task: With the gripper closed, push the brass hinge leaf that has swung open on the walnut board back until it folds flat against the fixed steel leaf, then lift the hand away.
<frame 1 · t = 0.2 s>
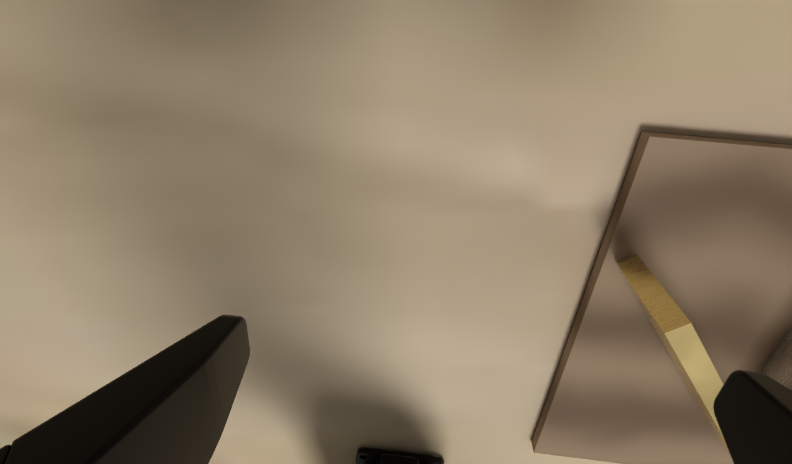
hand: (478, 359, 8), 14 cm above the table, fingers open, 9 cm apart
steel leaf: (740, 413, 25), resting on hinge board
hinge board: (736, 338, 24), on the table
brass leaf: (699, 380, 21), point 4 cm above the table, hinge at 40.0°
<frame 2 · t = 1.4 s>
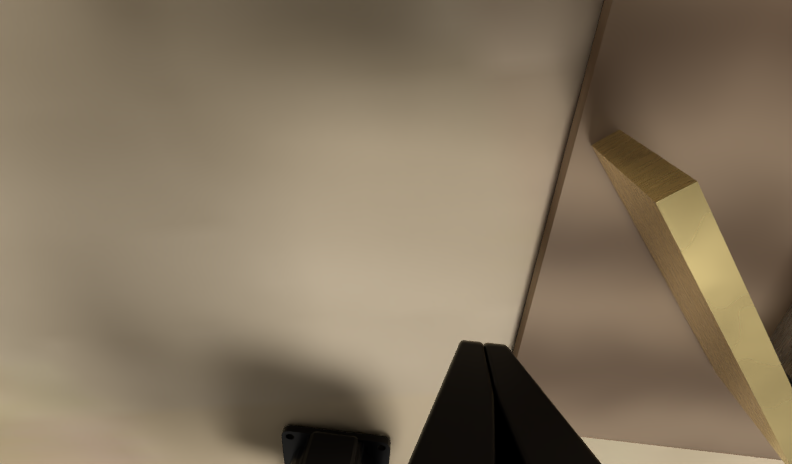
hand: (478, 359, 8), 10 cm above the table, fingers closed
steel leaf: (762, 369, 19), resting on hinge board
hinge board: (756, 264, 18), on the table
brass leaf: (709, 306, 15), point 4 cm above the table, hinge at 40.0°
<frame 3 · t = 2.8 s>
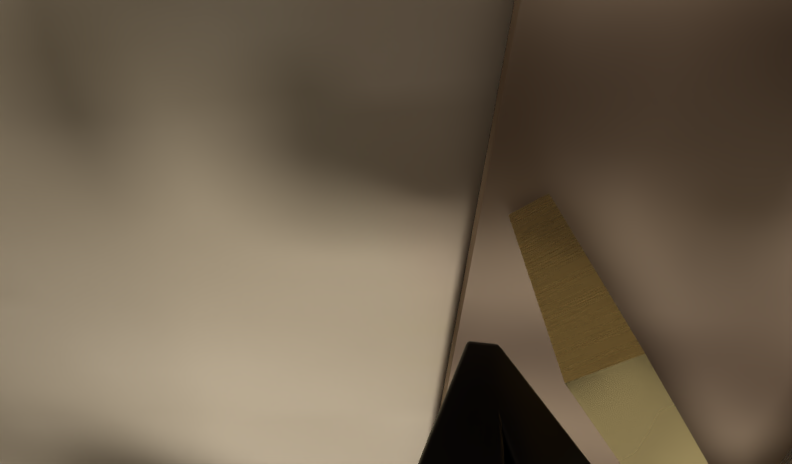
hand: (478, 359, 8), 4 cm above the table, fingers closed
hinge board: (753, 375, 13), on the table
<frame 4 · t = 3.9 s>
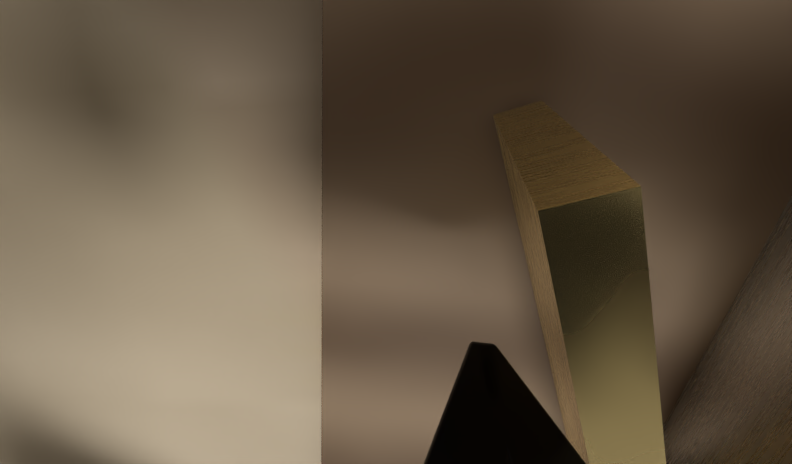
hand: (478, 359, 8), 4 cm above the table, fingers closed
hinge board: (616, 368, 13), on the table
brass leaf: (593, 423, 9), point 4 cm above the table, hinge at 23.2°, touching gripper
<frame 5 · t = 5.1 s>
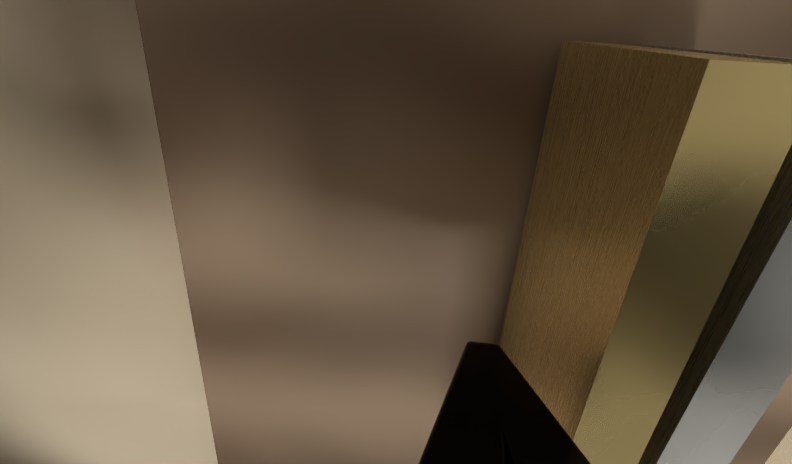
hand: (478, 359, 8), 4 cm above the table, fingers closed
hinge board: (484, 356, 13), on the table
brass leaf: (546, 384, 9), point 4 cm above the table, hinge at 1.4°, touching gripper
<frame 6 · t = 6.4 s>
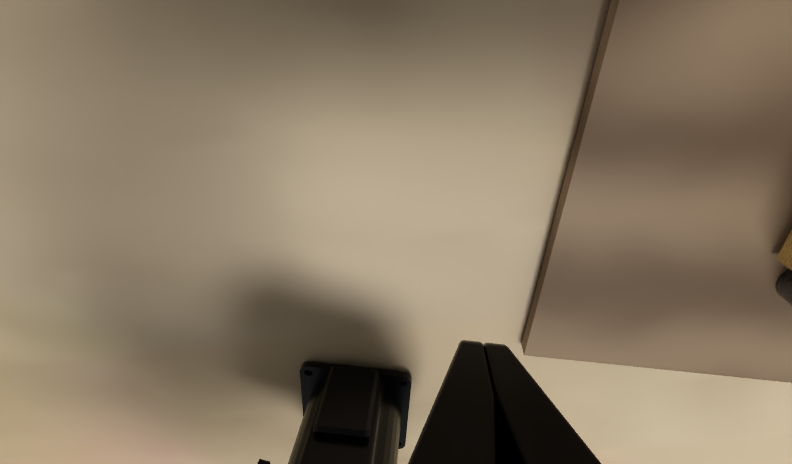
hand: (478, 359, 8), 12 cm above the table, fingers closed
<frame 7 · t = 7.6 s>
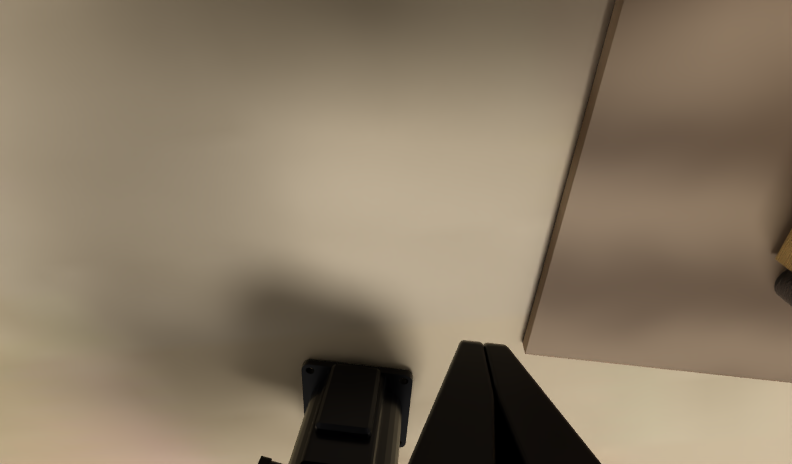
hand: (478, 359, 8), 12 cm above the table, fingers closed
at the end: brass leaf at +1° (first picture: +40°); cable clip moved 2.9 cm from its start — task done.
